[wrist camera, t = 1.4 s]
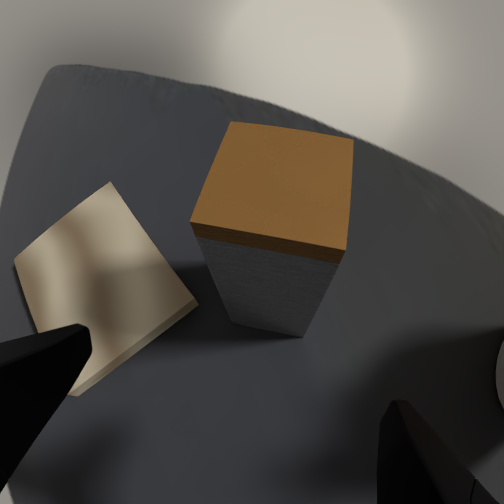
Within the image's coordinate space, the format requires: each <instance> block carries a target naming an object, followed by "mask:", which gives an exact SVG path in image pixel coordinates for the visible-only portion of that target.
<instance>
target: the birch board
mask: <svg viewBox="0 0 504 504" xmlns="http://www.w3.org/2000/svg"><path fill="white" fill-rule="evenodd" d="M14 262H15V265H16V269H17V272H18V276H19V279H20V282H21V285H22V289H23V292H24V295H25V298H26V301H27V303H28V306H29V309H30V312H31V315H32V317H33V320H34V323H35V325H36V328H37V330H38V333H41V332H45V331H49V330H53V329H56V328H60V327H64V326H68V325H72V324H75V323H79V324H82V325H84V326H87V327H88V328H89V330H90V335H91V341H92V348H93V350H92V354H91V356H90V358H89V360H88V361H87V363H86V365H85V366H84V368H83V370H82V372H81V373H80V375H79V377H78V378H77V380H76V382H75V383H74V385H73V387H72V388H71V390H70V391H69V393H68V394H67V395H71V396H79V395H81V394H82V393H83V392H85V391H86V390H87V389H89V388H90V387H91V386H93V385H94V384H95V383H97V382H98V381H99V380H101V379H102V378H103V377H105V376H106V375H107V374H109V373H110V372H111V371H113V370H114V369H115V368H117V367H118V366H119V365H121V364H122V363H123V362H125V361H126V360H127V359H129V358H130V357H131V356H133V355H134V354H135V353H137V352H138V351H139V350H140V349H142V348H143V347H144V346H146V345H147V344H148V343H150V342H151V341H152V340H154V339H155V338H156V337H158V336H159V335H160V334H162V333H163V332H164V331H165V330H167V329H168V328H169V327H171V326H172V325H173V324H175V323H176V322H177V321H179V320H180V319H181V318H183V317H184V316H185V315H186V314H188V313H189V312H190V311H192V310H193V309H194V308H196V307H197V306H198V305H199V304H198V303H197V301H196V300H195V298H194V297H193V295H192V294H191V293H190V292H189V290H188V289H187V288H186V286H185V285H184V284H183V283H182V281H181V280H180V279H179V277H178V276H177V275H176V273H175V272H174V271H173V269H172V268H171V267H170V265H169V264H168V263H167V261H166V260H165V259H164V257H163V256H162V255H161V253H160V252H159V251H158V249H157V248H156V246H155V245H154V244H153V242H152V241H151V240H150V238H149V237H148V235H147V234H146V233H145V231H144V230H143V228H142V227H141V226H140V224H139V223H138V221H137V220H136V218H135V217H134V216H133V214H132V213H131V211H130V210H129V208H128V207H127V205H126V204H125V203H124V201H123V200H122V198H121V197H120V195H119V194H118V192H117V191H116V189H115V188H114V186H113V185H112V183H111V182H109V183H108V184H106V185H105V186H103V187H102V188H101V189H99V190H98V191H97V192H95V193H94V194H92V195H91V196H90V197H88V198H87V199H86V200H84V201H83V202H82V203H80V204H79V205H78V206H77V207H75V208H74V209H73V210H71V211H70V212H69V213H68V214H66V215H65V216H64V217H63V218H61V219H60V220H59V221H58V222H56V223H55V224H54V225H53V226H51V227H50V228H49V229H48V230H47V231H45V232H44V233H43V234H42V235H41V236H40V237H38V238H37V239H36V240H35V241H34V242H33V243H31V244H30V245H29V246H28V247H27V248H26V249H25V250H24V251H22V252H21V253H20V254H19V255H18V256H17V257H16V258H15V259H14Z"/></svg>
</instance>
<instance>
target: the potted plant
mask: <svg viewBox="0 0 504 504" xmlns="http://www.w3.org/2000/svg"><path fill="white" fill-rule="evenodd" d="M496 387H497V392H498V397H499V400H500V402H501V404H502V407H503V409H504V341H503V343H502V345H501V348H500V351H499V354H498V357H497V365H496Z"/></svg>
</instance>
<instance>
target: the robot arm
mask: <svg viewBox="0 0 504 504" xmlns="http://www.w3.org/2000/svg"><path fill="white" fill-rule="evenodd" d="M92 350H93V348H92V341H91V335H90V330H89V328H88V327H87V326H84V325H82V324H79V323H75V324H72V325H68V326H64V327H60V328H56V329H53V330H49V331H45V332H41V333H37V334H33V335H29V336H25V337H21V338H17V339H14V340H10V341H6V342H1V343H0V493H1V491H2V490H3V488H4V487H5V485H6V483H7V482H8V479H9V478H10V477H11V475H12V474H13V472H14V471H15V469H16V468H17V466H18V465H19V463H20V462H21V460H22V458H23V457H24V455H25V454H26V453H27V451H28V450H29V448H30V447H31V445H32V444H33V442H34V441H35V439H36V438H37V436H38V435H39V434H40V432H41V431H42V429H43V428H44V426H45V425H46V424H47V422H48V421H49V419H50V418H51V416H52V415H53V414H54V412H55V411H56V410H57V408H58V407H59V405H60V404H61V403H62V401H63V400H64V399H65V397H66V396H67V394H68V393H69V391H70V390H71V388H72V387H73V385H74V383H75V382H76V380H77V378H78V377H79V375H80V373H81V372H82V370H83V368H84V366H85V365H86V363H87V361H88V360H89V358H90V356H91V354H92ZM377 504H499V503H498V502H497V501H496V500H495V499H494V498H493V497H492V496H491V495H490V493H489V492H488V491H487V490H486V489H485V488H484V487H483V486H482V485H481V483H480V482H479V481H478V480H477V479H475V477H474V476H473V474H472V473H471V472H470V471H469V470H468V469H467V468H466V466H465V465H464V464H463V463H462V462H461V461H460V460H459V459H458V457H457V456H456V455H455V454H454V453H453V452H452V451H451V449H450V448H449V447H448V446H447V445H446V444H445V443H444V442H443V440H442V439H441V438H440V437H439V436H438V435H437V434H436V433H435V431H434V430H433V429H432V428H431V427H430V426H429V425H428V424H427V422H426V421H425V420H424V419H423V418H422V417H421V416H420V415H419V414H418V412H417V411H416V410H415V409H414V408H413V407H412V406H411V405H410V404H409V402H407V401H405V400H393V401H392V402H391V403H390V405H389V407H388V409H387V410H386V412H385V414H384V416H383V418H382V420H381V423H380V431H379V448H378V461H377Z"/></svg>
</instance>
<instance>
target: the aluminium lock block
mask: <svg viewBox="0 0 504 504" xmlns="http://www.w3.org/2000/svg"><path fill="white" fill-rule="evenodd" d="M352 164H353V140H352V139H347V138H342V137H337V136H331V135H326V134H320V133H315V132H309V131H302V130H296V129H289V128H282V127H275V126H267V125H259V124H251V123H241V122H231V123H230V125H229V127H228V130H227V132H226V134H225V136H224V139H223V141H222V143H221V146H220V148H219V150H218V153H217V155H216V157H215V160H214V162H213V164H212V167H211V169H210V172H209V174H208V177H207V179H206V181H205V184H204V186H203V189H202V191H201V194H200V196H199V199H198V201H197V204H196V206H195V209H194V212H193V214H192V217H191V219H190V224H191V226H192V229H193V231H194V234H195V236H196V239H197V241H198V244H199V246H200V249H201V251H202V254H203V256H204V258H205V261H206V263H207V266H208V268H209V271H210V273H211V275H212V278H213V280H214V283H215V285H216V287H217V290H218V292H219V294H220V297H221V299H222V301H223V304H224V306H225V308H226V311H227V313H228V315H229V318H230V320H231V322H232V323H235V324H240V325H244V326H249V327H253V328H258V329H263V330H267V331H272V332H277V333H282V334H287V335H292V336H297V337H304V335H305V333H306V331H307V329H308V327H309V325H310V323H311V321H312V319H313V317H314V315H315V313H316V311H317V309H318V307H319V305H320V303H321V301H322V299H323V297H324V295H325V293H326V291H327V289H328V287H329V285H330V283H331V281H332V279H333V277H334V274H335V272H336V270H337V268H338V266H339V264H340V262H341V259H342V257H343V255H344V253H345V251H346V242H347V232H348V222H349V210H350V197H351V182H352Z"/></svg>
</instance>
